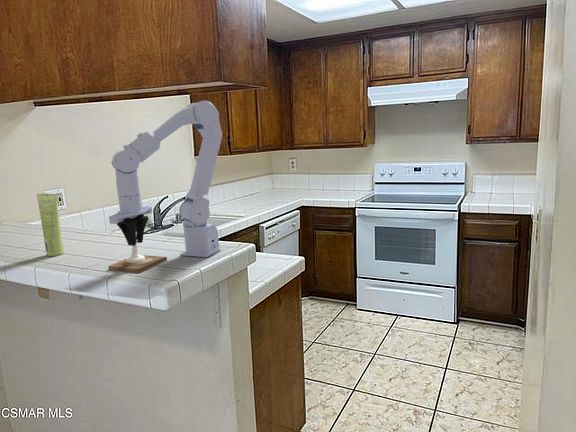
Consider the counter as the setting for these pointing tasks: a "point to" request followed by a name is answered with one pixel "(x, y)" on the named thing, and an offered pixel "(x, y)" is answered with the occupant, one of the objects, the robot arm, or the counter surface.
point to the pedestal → (138, 264)
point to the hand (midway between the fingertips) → (135, 243)
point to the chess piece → (135, 255)
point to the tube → (50, 224)
